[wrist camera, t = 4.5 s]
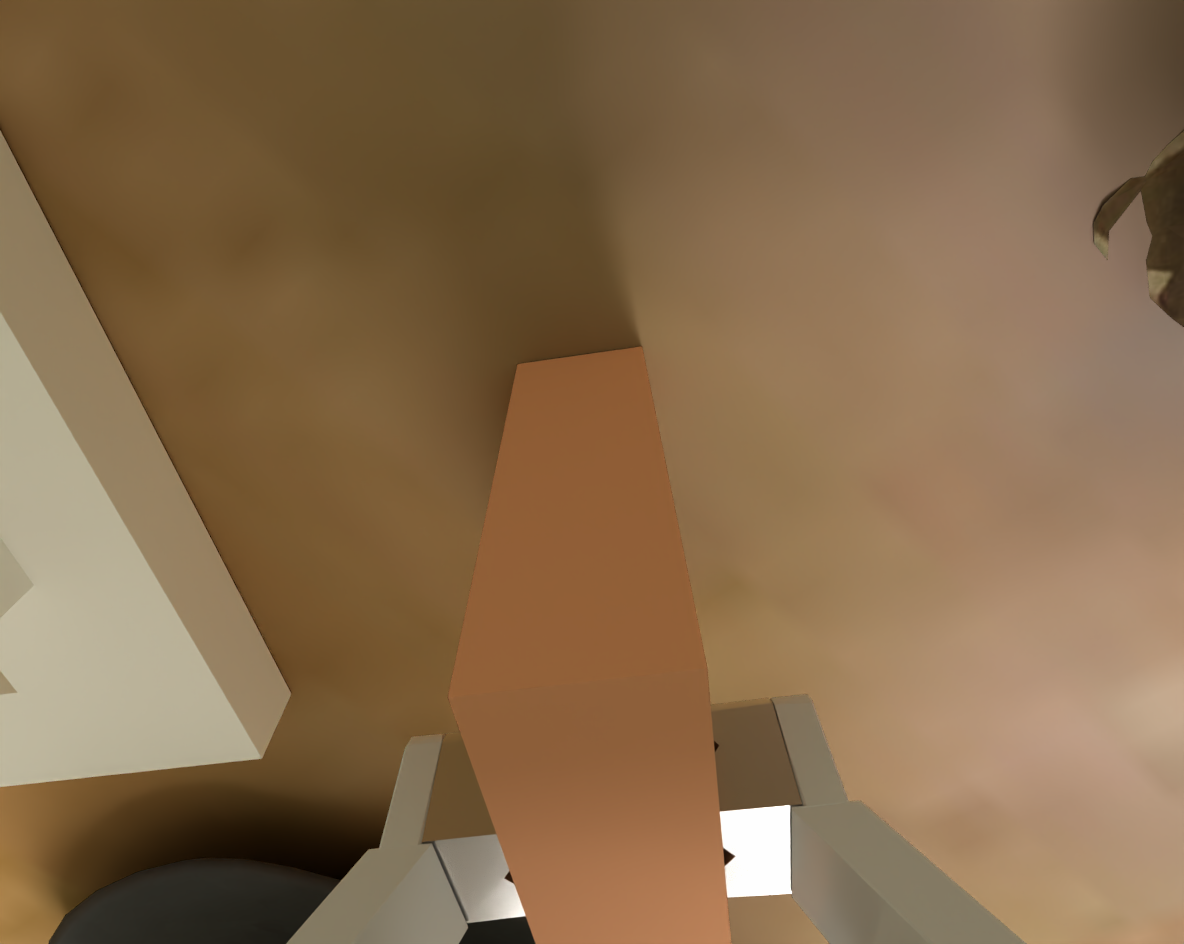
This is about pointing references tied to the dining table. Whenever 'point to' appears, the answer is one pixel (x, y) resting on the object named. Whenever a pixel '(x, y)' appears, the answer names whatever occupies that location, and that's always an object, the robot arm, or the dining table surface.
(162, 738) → the toilet paper holder
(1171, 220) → the pine cone
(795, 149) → the dining table surface
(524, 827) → the orange block
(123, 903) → the casserole
